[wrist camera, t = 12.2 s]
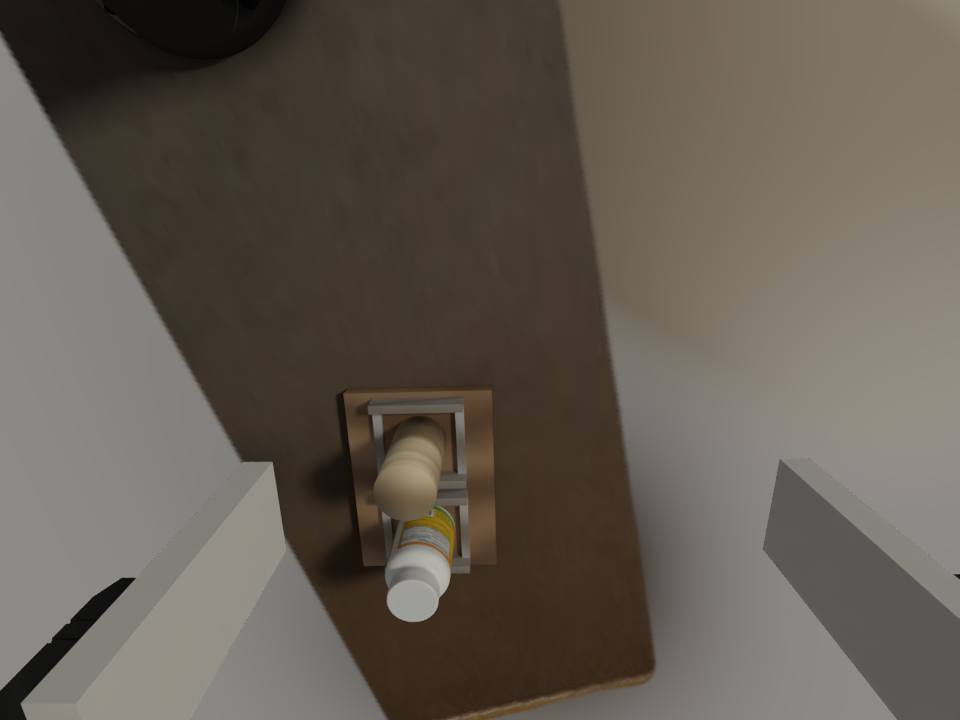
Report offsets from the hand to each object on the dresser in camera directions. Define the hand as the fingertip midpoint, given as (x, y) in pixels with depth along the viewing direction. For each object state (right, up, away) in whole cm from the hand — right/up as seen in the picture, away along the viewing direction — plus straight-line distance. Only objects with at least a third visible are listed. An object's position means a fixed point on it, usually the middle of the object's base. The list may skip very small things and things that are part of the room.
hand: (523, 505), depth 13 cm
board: (-6, -7, +35) cm, 36 cm away
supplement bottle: (-6, -12, +35) cm, 37 cm away
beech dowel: (-6, -3, +32) cm, 33 cm away
